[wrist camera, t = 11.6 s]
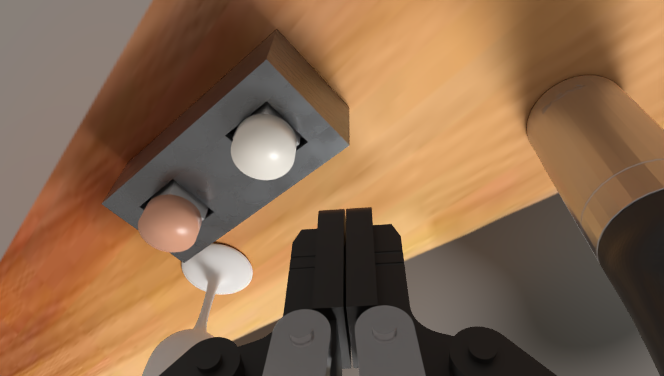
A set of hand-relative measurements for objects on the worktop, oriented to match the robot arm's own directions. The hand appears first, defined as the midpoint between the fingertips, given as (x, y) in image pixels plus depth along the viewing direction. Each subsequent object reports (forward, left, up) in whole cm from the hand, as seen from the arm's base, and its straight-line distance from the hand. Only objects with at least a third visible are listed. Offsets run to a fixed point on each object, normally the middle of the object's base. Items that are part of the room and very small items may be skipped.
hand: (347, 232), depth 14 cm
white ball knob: (-5, +13, -31) cm, 34 cm away
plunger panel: (-5, +19, -33) cm, 38 cm away
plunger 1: (-5, +25, -30) cm, 39 cm away
